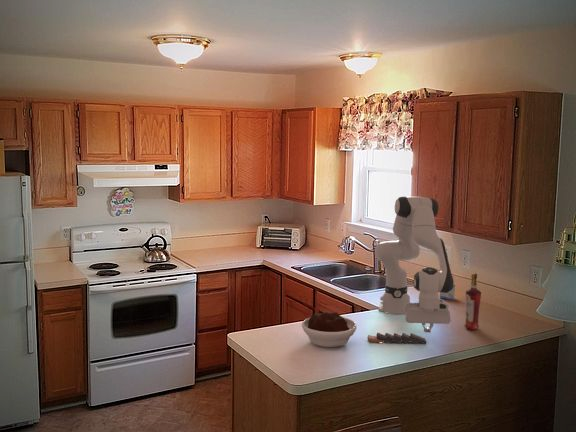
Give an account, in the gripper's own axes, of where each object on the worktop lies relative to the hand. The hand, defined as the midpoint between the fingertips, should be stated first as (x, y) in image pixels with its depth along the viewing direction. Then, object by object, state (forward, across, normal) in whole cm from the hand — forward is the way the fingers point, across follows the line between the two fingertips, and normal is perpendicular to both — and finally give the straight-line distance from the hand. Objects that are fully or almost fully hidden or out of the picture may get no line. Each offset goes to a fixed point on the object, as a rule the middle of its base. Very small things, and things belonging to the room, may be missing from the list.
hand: (427, 332), depth 274 cm
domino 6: (+4, -1, 0) cm, 5 cm away
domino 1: (+5, -20, 0) cm, 21 cm away
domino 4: (+4, -9, 0) cm, 10 cm away
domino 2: (+4, -16, 0) cm, 17 cm away
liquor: (+5, +26, +22) cm, 35 cm away
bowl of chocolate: (+5, -46, -4) cm, 46 cm away
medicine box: (+5, +26, +77) cm, 82 cm away
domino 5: (+4, -5, 0) cm, 6 cm away
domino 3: (+4, -12, 0) cm, 13 cm away
